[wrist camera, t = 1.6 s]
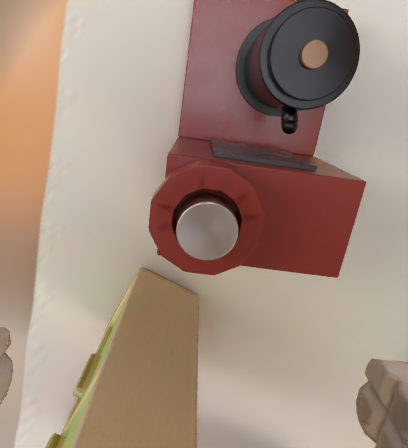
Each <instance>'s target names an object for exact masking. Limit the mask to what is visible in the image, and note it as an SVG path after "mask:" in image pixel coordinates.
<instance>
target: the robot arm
mask: <svg viewBox="0 0 408 448" xmlns="http://www.w3.org/2000/svg"><path fill="white" fill-rule="evenodd" d="M10 344H11V341H10V332H9V331H8V330H7V329H6V328H4V327H0V404H1V403H2V401H3V400H4V397H5V396H6V394H7V392H8V389H9V386H10V383H11V379H12V372H13V368H12V367H13V366H12V360H11V359H10V358H9V357H8V355H7V354H6V353H5V351H6V350H7V348H8V347H9V346H10ZM365 375H366V377H367V379H368V382H367V383H366V384H364V385H363V386H362V387H361V388H360V389H359V392H358V396H357V399H356V405H357V415H358V419H359V423H360V425H361V427H362V429H363V431H364V433H365V434H366V435H367V436H368V437H369V438H371V439H372V440H373V441H374V442H375V443H376V447H375V448H408V362H404V361H391V360H379V359H372V360H371V361H370V362H369V363H368V365H367V368H366V371H365Z"/></svg>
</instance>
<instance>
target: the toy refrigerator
mask: <svg viewBox="0 0 408 448" xmlns="http://www.w3.org/2000/svg"><path fill="white" fill-rule="evenodd" d="M198 310H199V298H198V296H197V295H196V294H195V293H193V292H191V291H189V290H187V289H185V288H183V287H181V286H179V285H176V284H175V283H173V282H171V281H169V280H167V279H165V278H163V277H161V276H159V275H156V274H154V273H152V272H150V271H148V270H146V269H144V268H140V269H139V271H138V273H137V274H136V276H135V278H134V280H133V282H132V283H131V285H130V287H129V289H128V290H127V292H126V294H125V296H124V298H123V299H122V301H121V303H120V305H119V307H118V308H117V310H116V312H115V314H114V315H113V317H112V319H111V321H110V322H109V324H108V326H107V328H106V331H105V333H104V335H103V338H102V340H101V342H100V345H99V347H98V350H97V352H96V354H91V356H90V358H89V360H88V362H87V364H86V366H85V368H84V370H83V373H82V375H81V377H80V379H79V381H78V383H77V385H76V388H75V390H74V392H73V395H74V396H77V399H76V401H75V403H74V406H73V408H72V410H71V412H70V415H69V417H68V419H67V422H66V424H65V426H64V429H63V431H62V433H61V435H58V434H56V433H55V434H53V435H52V436H51V438H50V440H49V442H48V444H47V446H46V448H197V377H198Z"/></svg>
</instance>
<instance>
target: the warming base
mask: <svg viewBox="0 0 408 448" xmlns="http://www.w3.org/2000/svg"><path fill="white" fill-rule="evenodd" d="M293 3H296V0H194V8H193V17H192V25H191V34H190V42H189V51H188V59H187V68H186V76H185V85H184V93H183V102H182V110H181V119H180V127H179V137H186V138H193V139H200V140H207V141H210V144H211V148H212V152H213V155H214V157H221V158H228V159H235V160H242V161H249V162H256V163H263V164H270V165H277V166H284V167H291V168H298V169H305V170H312V171H316V169H317V166H316V165H314V164H312V163H310V162H309V161H307V160H305V159H303V158H301V157H299V156H298V155H296V154H303V155H309V156H313V155H314V151H315V147H316V143H317V139H318V135H319V130H320V126H321V122H322V118H323V114H324V110H325V106H326V105H324V106H322V107H319V108H315V109H309V110H300V109H298V128H297V130H296V132H294V133H293V134H286V133H284V132H283V131H282V128H281V108H274V107H269V106H267V105H265V104H263V103H261V102H260V101H258V100H257V99H256V98H255V97H254V96H253V95H252V93H251V92H250V90H249V88H248V86H247V84H246V80H245V74H244V65H245V59H246V55H247V53H248V50H249V48H250V46H251V45H252V43H253V42H254V41H255V39H256V38H257V37H258V36H259V35H260V34H261V33H262V31H263V30H264V29H265V28H266V27H267V26H268V25H269V23H270V22H271V21H272V20H273V19H274V18H275V17H276V16H277V15H278V14H279V13H280V12H281V11H282V10H283V9H285V8H286V7H288V6H289V5H291V4H293ZM343 10H344V11H345V12H346V13H347V14H348V9H343ZM294 153H296V154H294Z"/></svg>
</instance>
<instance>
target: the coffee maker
mask: <svg viewBox="0 0 408 448" xmlns="http://www.w3.org/2000/svg"><path fill="white" fill-rule="evenodd" d="M294 154H296V153H294ZM296 155H298V156H299V157H301V158H303V159H305V160H307V161H309V162H310V163H312V164H314V165H316V166H317V169H316V171H312V170H305V169H298V168H291V167H284V166H277V165H270V164H263V163H256V162H249V161H242V160H235V159H228V158H221V157H214V155H213V152H212V148H211V144H210V141H207V140H200V139H193V138H186V137H178V139H177V140H176V142H175V144H174V145H173V147H172V149H171V150H170V152H169V153H168V157H167V167H166V176H165V180H164V181H163V183H162V184H161V185H160V187H159V188H158V189H157V191H156V192H155V194H154V196H153V198H152V201H151V208H150V218H149V232H150V234H151V236H152V238H153V240H154V242H155V244H156V246H157V248H158V249H157V255H162V256H163V257H164V258H166V259H167V260H168V261H170V262H171V263H173V264H174V265H176V266H177V267H179V268H180V269H181V270H183V271H185V272H191V273H200V274H208V275H216V274H219V273H221V272H224V271H227V270H230V269H232V268H235V267H238V266H240V265H241V266H249V267H256V268H264V269H272V270H280V271H288V272H296V273H304V274H312V275H320V276H328V277H335V278H338V276H339V272H340V269H341V265H342V262H343V259H344V255H345V252H346V249H347V245H348V242H349V238H350V235H351V232H352V228H353V225H354V222H355V218H356V215H357V212H358V208H359V205H360V201H361V198H362V195H363V191H364V188H365V185H366V182H365V181H364V180H362V179H359V178H357V177H355V176H353V175H351V174H349V173H347V172H345V171H343V170H341V169H338V168H336V167H334V166H332V165H330V164H328V163H326V162H324V161H322V160H320V159H318V158H315V157H313V156H309V155H303V154H296ZM202 193H211V194H216V195H218V196H220V197H222V198H224V199H225V200H226V201H227V202H228V203H229V204H230V205H231V207H232V209H233V211H234V214H235V217H236V220H237V224H238V238H237V241H236V243H235V245H234V247H233V248H232V249H231V250H230V251H229V252H228V253H227V254H226V255H224V256H222V257H220V258H218V259H214V260H200V259H197V258H194V257H192V256H190V255H189V254H187V253H186V252H185V251H184V250H183V249H182V248H181V246H180V244H179V243H178V240H177V236H176V226H177V221H178V216H179V212H180V209H181V208H182V206H183V204H184V203H185V202H186V201H187V200H188V199H190V198H191V197H193V196H195V195H198V194H202Z"/></svg>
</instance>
